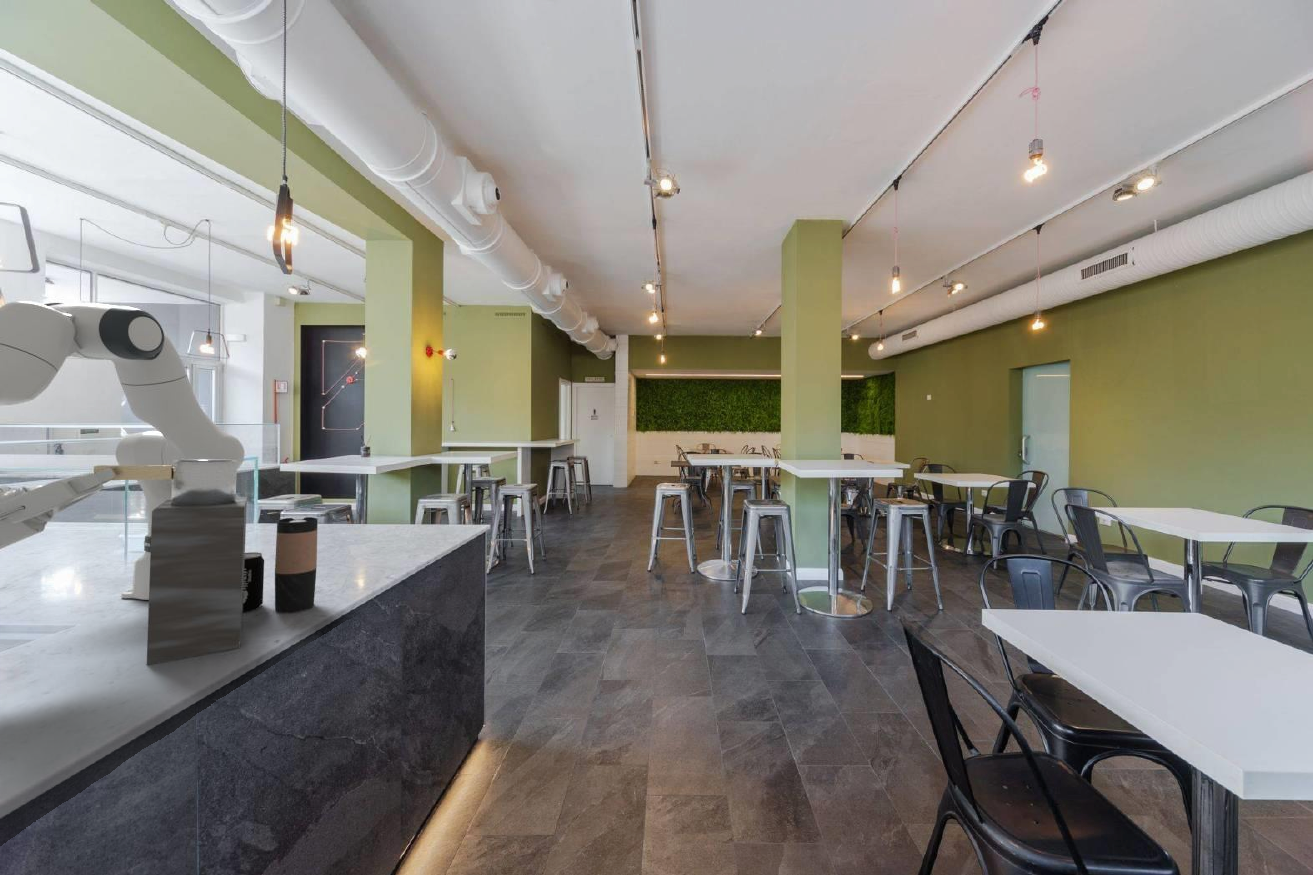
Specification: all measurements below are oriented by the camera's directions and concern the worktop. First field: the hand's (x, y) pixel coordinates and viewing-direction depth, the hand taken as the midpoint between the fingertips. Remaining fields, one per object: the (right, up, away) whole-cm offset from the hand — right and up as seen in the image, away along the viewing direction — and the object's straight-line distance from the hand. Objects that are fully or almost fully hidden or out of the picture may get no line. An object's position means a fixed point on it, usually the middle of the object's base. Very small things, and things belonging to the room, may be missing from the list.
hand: (119, 470), depth 87 cm
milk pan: (+5, -7, +4) cm, 9 cm away
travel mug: (+12, -33, +26) cm, 44 cm away
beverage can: (+2, -33, +24) cm, 41 cm away
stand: (+8, -33, +7) cm, 34 cm away
